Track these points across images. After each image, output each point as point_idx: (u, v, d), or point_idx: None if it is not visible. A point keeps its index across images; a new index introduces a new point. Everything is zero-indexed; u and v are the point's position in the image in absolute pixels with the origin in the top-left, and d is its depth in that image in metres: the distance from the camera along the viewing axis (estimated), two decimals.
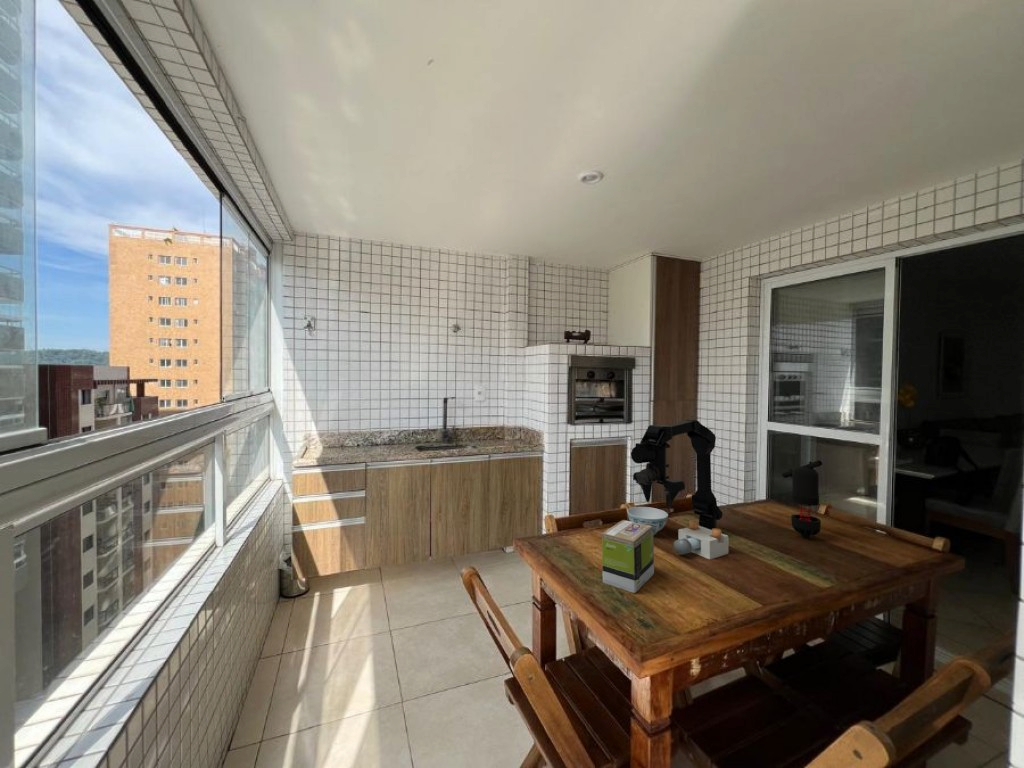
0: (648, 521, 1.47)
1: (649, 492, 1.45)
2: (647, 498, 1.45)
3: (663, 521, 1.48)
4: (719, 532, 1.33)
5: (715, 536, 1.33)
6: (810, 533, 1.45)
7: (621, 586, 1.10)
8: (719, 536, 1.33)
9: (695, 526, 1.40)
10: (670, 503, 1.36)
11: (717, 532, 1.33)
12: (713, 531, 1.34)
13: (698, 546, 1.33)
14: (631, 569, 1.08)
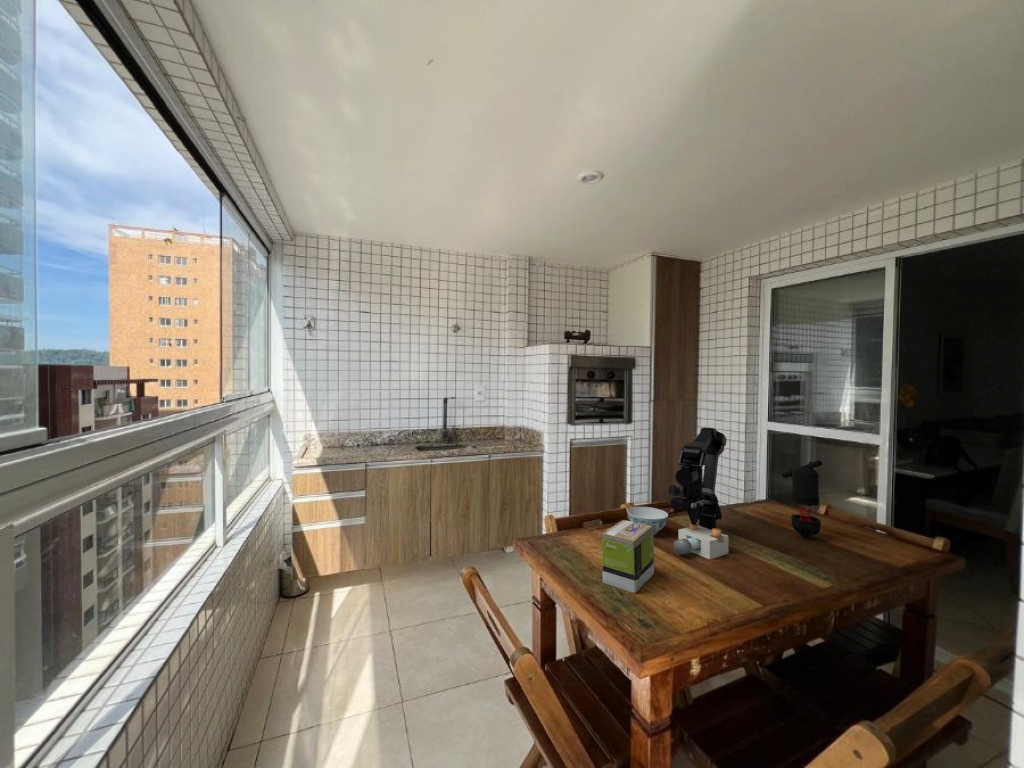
0: (648, 521, 1.47)
1: None
2: None
3: (663, 521, 1.48)
4: (719, 532, 1.33)
5: (715, 536, 1.33)
6: (810, 533, 1.45)
7: (621, 586, 1.10)
8: (719, 536, 1.33)
9: (695, 529, 1.40)
10: (692, 519, 1.41)
11: (717, 532, 1.33)
12: (713, 531, 1.34)
13: (698, 546, 1.33)
14: (631, 569, 1.08)
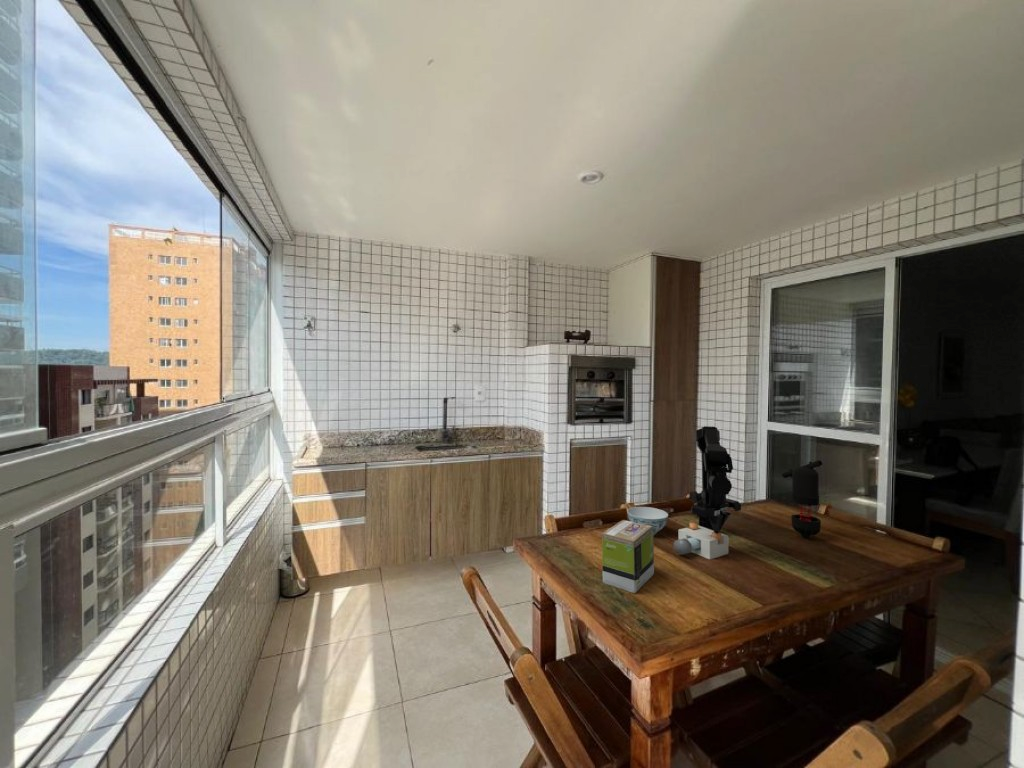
0: (648, 521, 1.47)
1: None
2: None
3: (663, 521, 1.48)
4: (719, 535, 1.33)
5: None
6: (810, 533, 1.45)
7: (621, 586, 1.10)
8: (719, 539, 1.33)
9: (695, 528, 1.40)
10: (715, 528, 1.33)
11: (717, 535, 1.33)
12: (713, 534, 1.34)
13: (698, 546, 1.33)
14: (631, 569, 1.08)
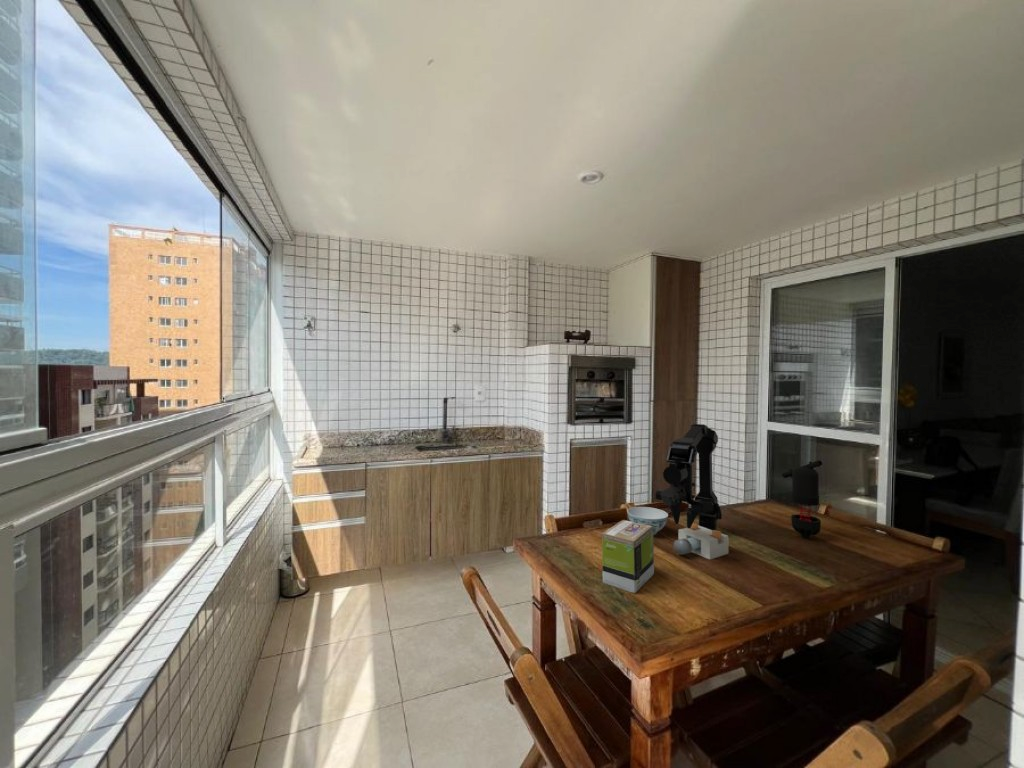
0: (648, 521, 1.47)
1: (678, 513, 1.35)
2: (676, 520, 1.34)
3: (663, 521, 1.48)
4: (719, 534, 1.33)
5: None
6: (810, 533, 1.45)
7: (621, 586, 1.10)
8: (719, 537, 1.33)
9: (695, 528, 1.40)
10: (691, 523, 1.30)
11: (717, 534, 1.33)
12: (713, 533, 1.34)
13: (698, 546, 1.33)
14: (631, 569, 1.08)
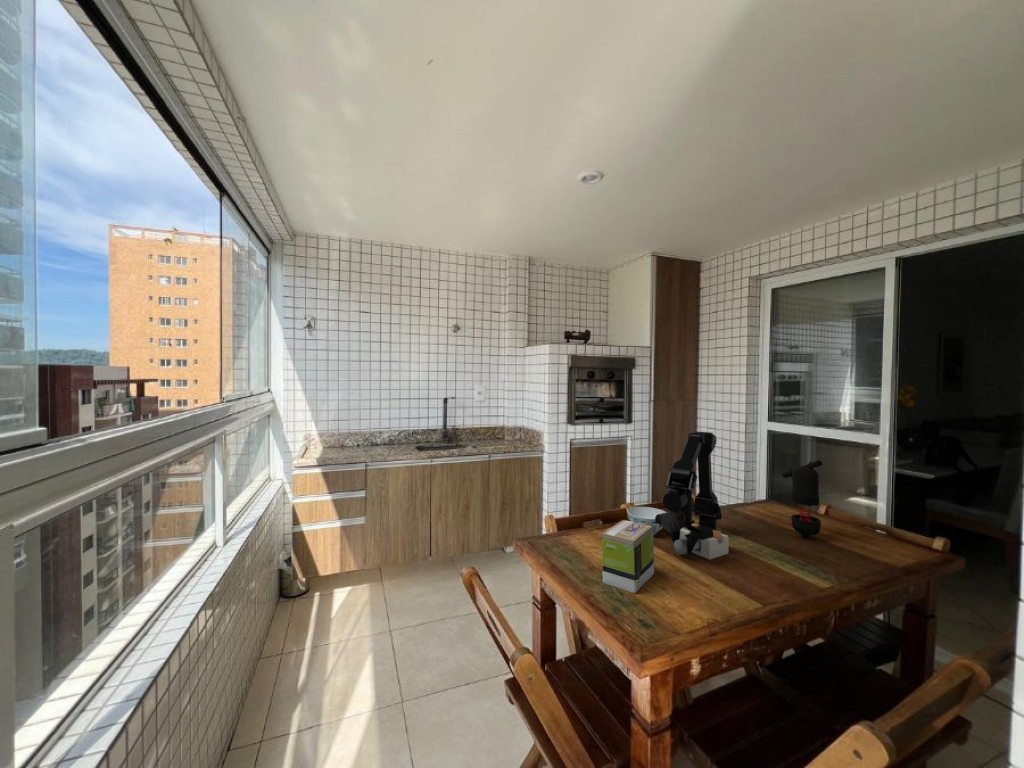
0: (648, 521, 1.47)
1: (678, 538, 1.35)
2: None
3: None
4: (719, 534, 1.33)
5: None
6: (810, 533, 1.45)
7: (621, 586, 1.10)
8: (719, 537, 1.33)
9: None
10: (691, 548, 1.30)
11: (717, 534, 1.33)
12: (713, 533, 1.34)
13: (698, 546, 1.33)
14: (631, 569, 1.08)
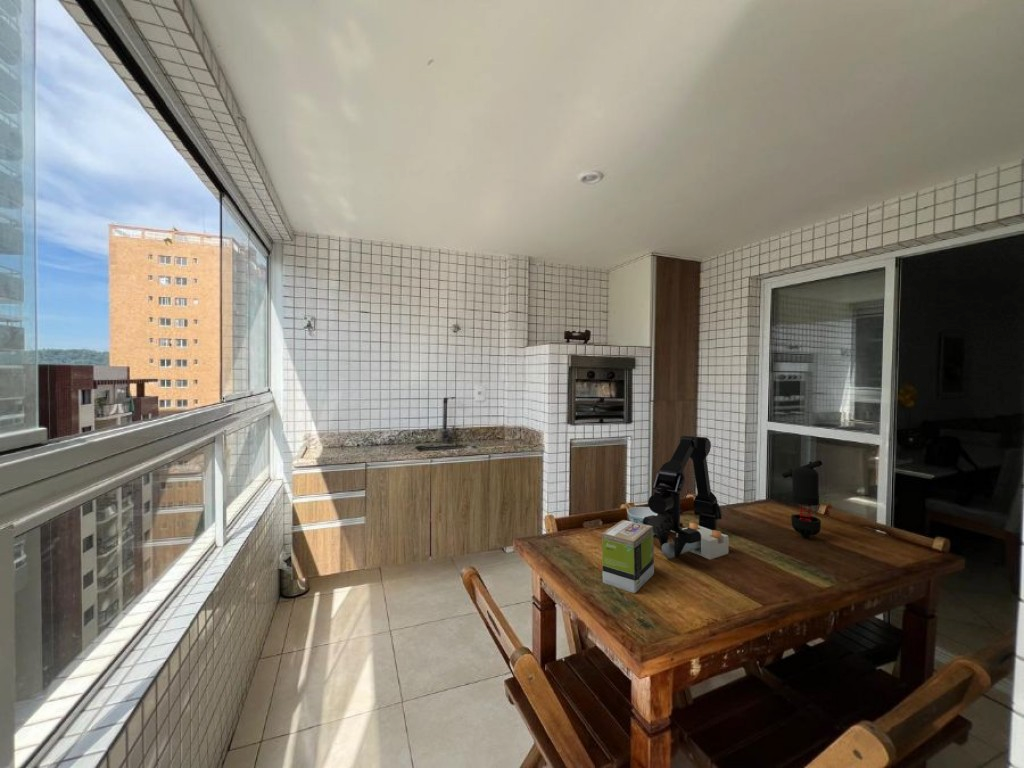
0: None
1: (666, 541, 1.32)
2: None
3: None
4: (719, 534, 1.33)
5: None
6: (810, 533, 1.45)
7: (621, 586, 1.10)
8: (719, 537, 1.33)
9: (695, 528, 1.40)
10: (679, 552, 1.27)
11: (717, 534, 1.33)
12: (713, 533, 1.34)
13: (686, 549, 1.30)
14: (631, 569, 1.08)
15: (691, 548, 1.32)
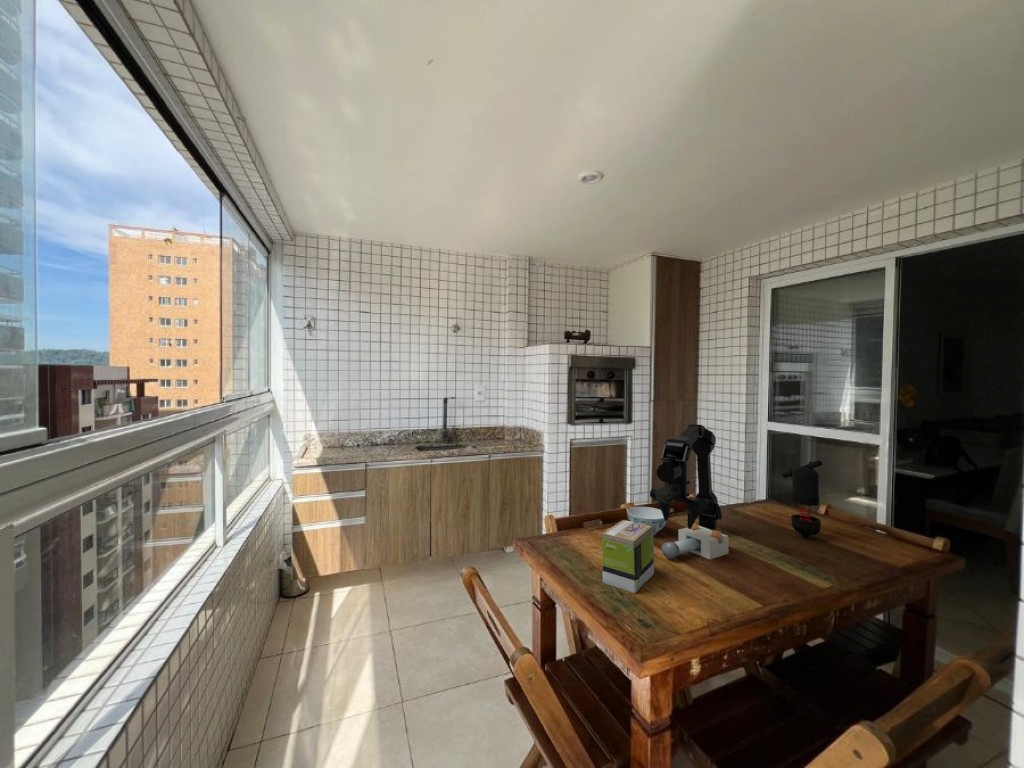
0: (648, 521, 1.47)
1: (667, 510, 1.36)
2: (665, 517, 1.35)
3: (663, 521, 1.48)
4: (719, 534, 1.33)
5: None
6: (810, 533, 1.45)
7: (621, 586, 1.10)
8: (719, 537, 1.33)
9: (695, 528, 1.40)
10: (692, 523, 1.27)
11: (717, 534, 1.33)
12: (713, 533, 1.34)
13: (686, 549, 1.30)
14: (631, 569, 1.08)
15: (691, 548, 1.32)
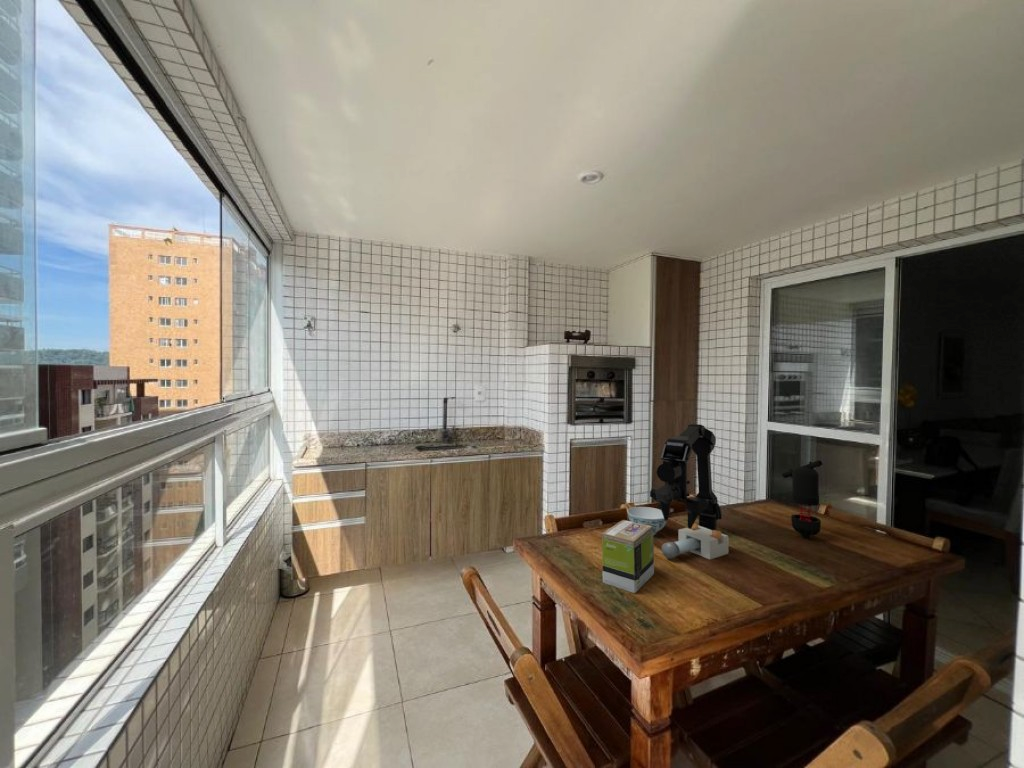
0: (648, 521, 1.47)
1: (667, 510, 1.36)
2: (665, 516, 1.35)
3: (663, 521, 1.48)
4: (719, 534, 1.33)
5: None
6: (810, 533, 1.45)
7: (621, 586, 1.10)
8: (719, 537, 1.33)
9: (695, 528, 1.40)
10: (692, 523, 1.27)
11: (717, 534, 1.33)
12: (713, 533, 1.34)
13: (686, 549, 1.30)
14: (631, 569, 1.08)
15: (691, 548, 1.32)
